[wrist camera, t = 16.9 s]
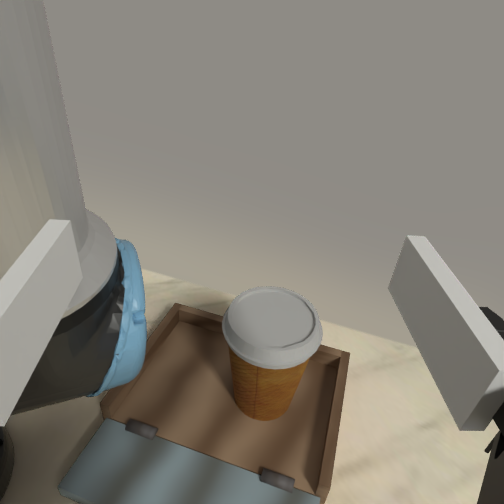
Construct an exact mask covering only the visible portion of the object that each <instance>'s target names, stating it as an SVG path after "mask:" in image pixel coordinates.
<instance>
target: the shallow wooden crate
mask: <svg viewBox="0 0 504 504" xmlns="http://www.w3.org/2000/svg"><path fill="white" fill-rule="evenodd" d="M222 320H223V316H220V315H216V314H213V313H209V312H206V311H202V310H199V309H195V308H192V307H188V306H185V305H181V304H178V303H175V304H174V305H173V307H172V308H171V309H170V311H169V312H168V313H167V315H166V316H165V317H164V319H163V320H162V321H161V323H160V324H159V325H158V327H157V328H156V329H155V331H154V332H153V333H152V335H151V336H150V337H149V339H148V340H147V341H146V353H145V359H144V363H143V366H142V369H141V370H140V372H139V374H138V375H137V376H136V377H135V378H134V379H133V380H132V381H130V382H129V383H126V384H123V385H120V386H117V387H114V388H111V389H110V390H109V392H108V393H107V394H106V396H105V397H104V398H103V400H102V401H101V402H100V406H101V410H102V414H103V418H104V422H103V423H102V425H101V426H100V427H99V429H98V430H97V432H96V433H95V434H94V436H93V437H92V439H91V440H90V441H89V443H88V444H87V446H86V447H85V448H84V450H83V451H82V453H81V454H80V456H79V457H78V458H77V460H76V461H75V463H74V464H73V465H72V467H71V468H70V470H69V471H68V472H67V474H66V475H65V477H64V478H63V479H62V481H61V482H60V484H59V485H58V490H59V492H60V494H61V495H62V496H64V497H67V498H69V499H71V500H74V501H76V502H78V503H80V504H324V503H325V501H326V498H327V495H328V493H329V490H330V487H331V480H332V473H333V467H334V460H335V453H336V446H337V439H338V432H339V426H340V419H341V412H342V405H343V398H344V391H345V385H346V378H347V371H348V364H349V357H350V353H348V352H345V351H341V350H338V349H334V348H331V347H327V346H324V345H320V346H319V347H318V349H317V351H316V352H315V353H314V354H313V355H312V356H311V357H310V359H309V361H308V364H307V366H306V368H305V371H304V373H303V375H302V378H301V380H300V382H299V385H298V387H297V389H296V392H295V394H294V396H293V399H292V401H291V403H290V406H289V408H288V410H287V411H286V412H285V413H284V414H283V415H282V416H280V417H279V418H277V419H274V420H270V421H260V420H256V419H252V418H250V417H248V416H246V415H245V414H244V413H243V412H242V411H241V410H240V409H239V408H238V406H237V404H236V402H235V398H234V389H233V381H232V373H231V365H230V357H229V348H228V343H227V341H226V340H225V337H224V334H223V330H222Z"/></svg>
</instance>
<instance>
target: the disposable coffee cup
mask: <svg viewBox="0 0 504 504" xmlns="http://www.w3.org/2000/svg"><path fill="white" fill-rule="evenodd" d="M222 330H223V334H224V337H225V340H226V341H227V343H228V348H229V357H230V365H231V373H232V381H233V389H234V398H235V402H236V404H237V406H238V408H239V409H240V410H241V411H242V412H243V413H244V414H245V415H246V416H248V417H250V418H252V419H256V420H260V421H270V420H274V419H277V418H279V417H280V416H282V415H283V414H284V413H285V412H286V411H287V410H288V408H289V406H290V403H291V401H292V399H293V396H294V394H295V392H296V389H297V387H298V385H299V382H300V380H301V378H302V375H303V373H304V371H305V368H306V366H307V364H308V361H309V359H310V357H311V356H312V355H313V354H314V353H315V352H316V351H317V349H318V347H319V346H320V344H321V341H322V335H323V333H322V326H321V323H320V320H319V316H318V313H317V311H316V309H315V308H314V306H313V305H312V304H311V303H310V302H309V301H308V300H307V299H306V298H304V297H303V296H302V295H300V294H298V293H296V292H294V291H291V290H288V289H285V288H280V287H272V286H266V287H256V288H253V289H249V290H247V291H245V292H242V293H241V294H240V295H238V296H237V297H236V298H235V299H234V300H233V301H232V303H231V304H230V307H229V308H228V309H227V311H226V312H225V314H224V317H223V320H222Z"/></svg>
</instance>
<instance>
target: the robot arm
mask: <svg viewBox="0 0 504 504" xmlns="http://www.w3.org/2000/svg"><path fill="white" fill-rule="evenodd" d="M388 289H389V291H390V293H391V295H392V297H393V299H394V301H395V303H396V305H397V307H398V309H399V311H400V313H401V315H402V317H403V319H404V321H405V323H406V325H407V327H408V329H409V331H410V333H411V335H412V337H413V339H414V341H415V343H416V345H417V347H418V349H419V351H420V353H421V355H422V357H423V359H424V361H425V363H426V365H427V367H428V369H429V371H430V373H431V375H432V377H433V379H434V381H435V383H436V385H437V387H438V389H439V391H440V393H441V395H442V397H443V399H444V401H445V403H446V404H447V406H448V408H449V410H450V412H451V414H452V416H453V418H454V420H455V422H456V424H457V426H458V428H459V430H460V431H484V430H485V429H486V427H487V426H488V425H489V423H490V422H491V420H492V419H493V420H494V421H495V423H496V425H497V426H498V428H499V430H500V431H499V432H498V433H497V434H496V436H495V437H494V438H493V440H492V441H491V442H490V444H489V445H488V446H487V448H486V449H485V452H486V453H489V452H490V450H491V449H492V450H491V453H490V457H489V461H488V464H487V468H486V472H485V476H484V479H483V483H482V487H481V491H480V494H479V498H478V502H477V504H504V321H503V319H502V318H501V317H499V316H498V315H497V314H495V313H494V312H492V311H491V310H490V309H489V308H488V307H478V306H477V304H476V303H475V302H474V300H473V299H472V298H471V296H470V295H469V294H468V293H467V291H466V290H465V289H464V287H463V286H462V285H461V283H460V282H459V281H458V279H457V278H456V277H455V275H454V274H453V273H452V271H451V270H450V269H449V267H448V266H447V265H446V263H445V262H444V261H443V260H442V258H441V257H440V256H439V254H438V253H437V252H436V250H435V249H434V248H433V246H432V245H431V244H430V243H429V241H428V240H427V238H426V237H425V236H408V235H407V236H406V238H405V241H404V244H403V247H402V250H401V253H400V255H399V258H398V261H397V264H396V267H395V270H394V272H393V275H392V278H391V281H390V284H389V287H388ZM144 313H145V293H144V284H143V277H142V272H141V267H140V263H139V259H138V255H137V252H136V249H135V247H134V246H133V244H132V243H130V242H129V241H126V240H119V239H117V238H115V237H114V235H113V233H112V231H111V229H110V227H109V226H108V224H107V223H106V222H105V221H104V220H102V218H100V217H99V216H97V215H96V214H94V213H93V212H91V211H89V210H87V209H85V204H84V199H83V194H82V189H81V184H80V179H79V174H78V170H77V165H76V160H75V155H74V150H73V145H72V140H71V135H70V130H69V125H68V120H67V115H66V110H65V105H64V100H63V95H62V91H61V85H60V81H59V76H58V71H57V66H56V61H55V56H54V51H53V46H52V41H51V36H50V31H49V26H48V21H47V17H46V12H45V7H44V2H43V0H0V500H1V499H2V497H3V495H4V493H5V490H6V488H7V486H8V483H9V480H10V477H11V473H12V469H13V462H14V451H13V445H12V441H11V438H10V436H9V434H8V432H7V430H6V428H5V424H6V422H7V420H8V418H9V417H10V416H11V415H14V414H18V413H22V412H26V411H30V410H33V409H37V408H41V407H45V406H49V405H52V404H56V403H60V402H64V401H68V400H71V399H75V398H79V397H83V396H86V397H94V396H97V395H99V394H100V393H102V392H103V391H105V390H108V389H111V388H114V387H117V386H120V385H123V384H126V383H129V382H130V381H132V380H133V379H134V378H135V377H136V376H137V375H138V374H139V372H140V370H141V369H142V366H143V363H144V359H145V353H146V339H147V329H146V319H145V316H144Z"/></svg>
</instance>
